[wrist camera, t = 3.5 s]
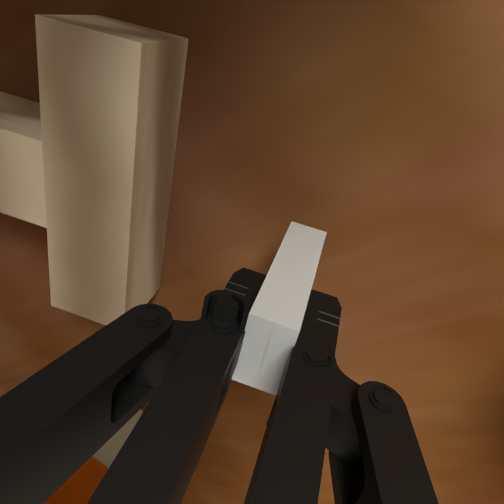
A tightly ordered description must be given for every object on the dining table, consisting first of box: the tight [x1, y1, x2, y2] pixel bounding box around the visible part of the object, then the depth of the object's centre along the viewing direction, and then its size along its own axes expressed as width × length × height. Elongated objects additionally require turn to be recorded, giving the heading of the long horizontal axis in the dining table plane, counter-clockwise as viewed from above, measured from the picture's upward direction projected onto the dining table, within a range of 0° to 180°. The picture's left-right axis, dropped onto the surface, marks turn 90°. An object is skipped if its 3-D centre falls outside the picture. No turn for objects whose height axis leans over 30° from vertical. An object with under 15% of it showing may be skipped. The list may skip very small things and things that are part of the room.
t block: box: [0, 14, 189, 325], centre depth 20 cm, size 12×13×4 cm
